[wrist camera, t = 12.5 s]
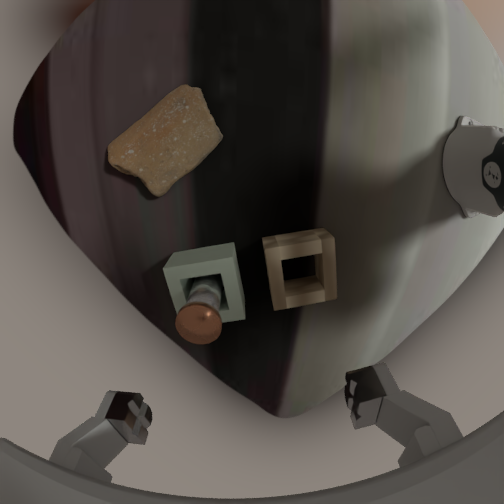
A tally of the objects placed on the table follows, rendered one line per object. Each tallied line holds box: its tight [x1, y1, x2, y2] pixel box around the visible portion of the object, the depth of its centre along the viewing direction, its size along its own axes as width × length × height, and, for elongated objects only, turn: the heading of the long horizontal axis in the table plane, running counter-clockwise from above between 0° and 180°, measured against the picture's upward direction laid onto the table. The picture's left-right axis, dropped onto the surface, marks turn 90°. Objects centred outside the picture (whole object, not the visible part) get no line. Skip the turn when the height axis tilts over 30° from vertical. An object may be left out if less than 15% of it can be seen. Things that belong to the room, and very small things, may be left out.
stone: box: [108, 85, 223, 197], centre depth 32 cm, size 11×16×3 cm
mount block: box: [262, 228, 337, 311], centre depth 38 cm, size 9×9×5 cm
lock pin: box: [175, 273, 223, 344], centre depth 34 cm, size 5×5×13 cm
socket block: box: [163, 242, 245, 322], centre depth 37 cm, size 9×9×6 cm
